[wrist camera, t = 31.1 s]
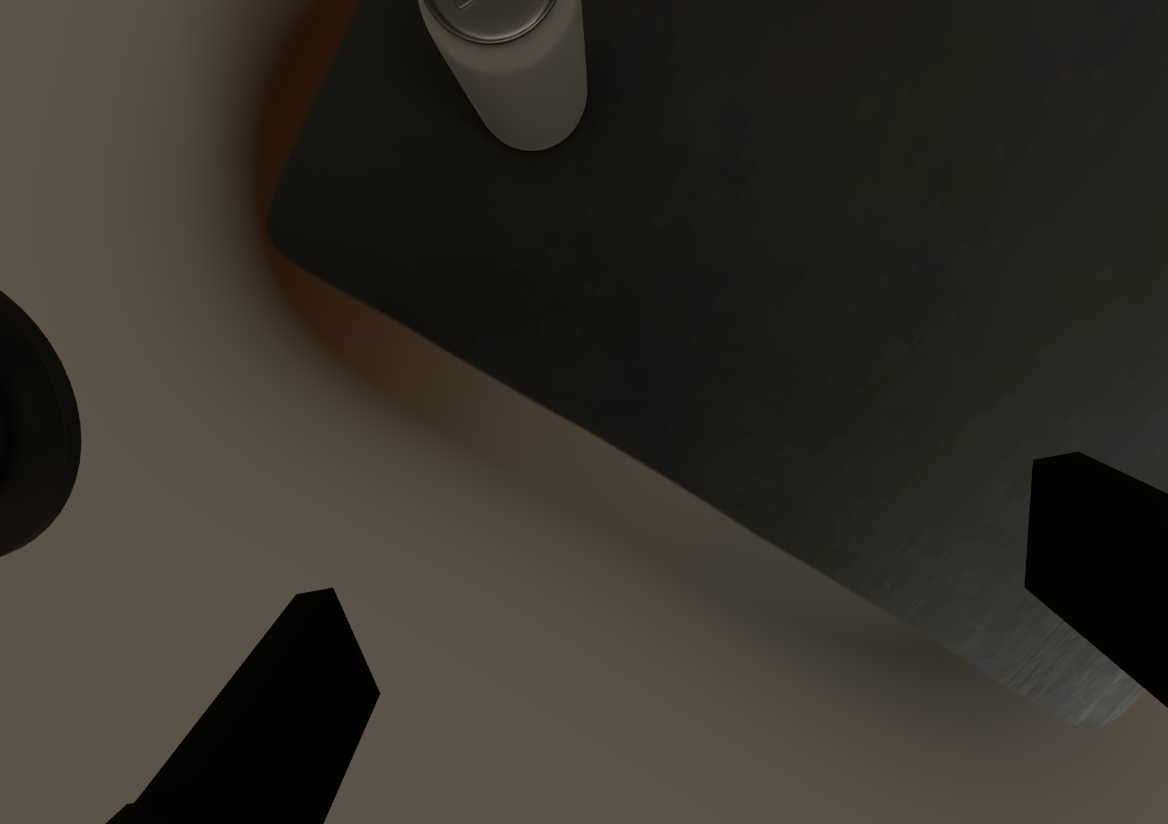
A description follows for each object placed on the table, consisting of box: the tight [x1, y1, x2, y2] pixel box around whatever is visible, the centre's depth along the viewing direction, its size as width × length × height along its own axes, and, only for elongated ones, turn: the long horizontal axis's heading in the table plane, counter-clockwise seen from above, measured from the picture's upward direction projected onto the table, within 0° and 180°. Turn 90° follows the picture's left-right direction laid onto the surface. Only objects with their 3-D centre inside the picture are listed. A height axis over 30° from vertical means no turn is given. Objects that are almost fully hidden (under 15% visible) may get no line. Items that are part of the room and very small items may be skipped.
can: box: [418, 0, 587, 151], centre depth 26 cm, size 6×6×12 cm
